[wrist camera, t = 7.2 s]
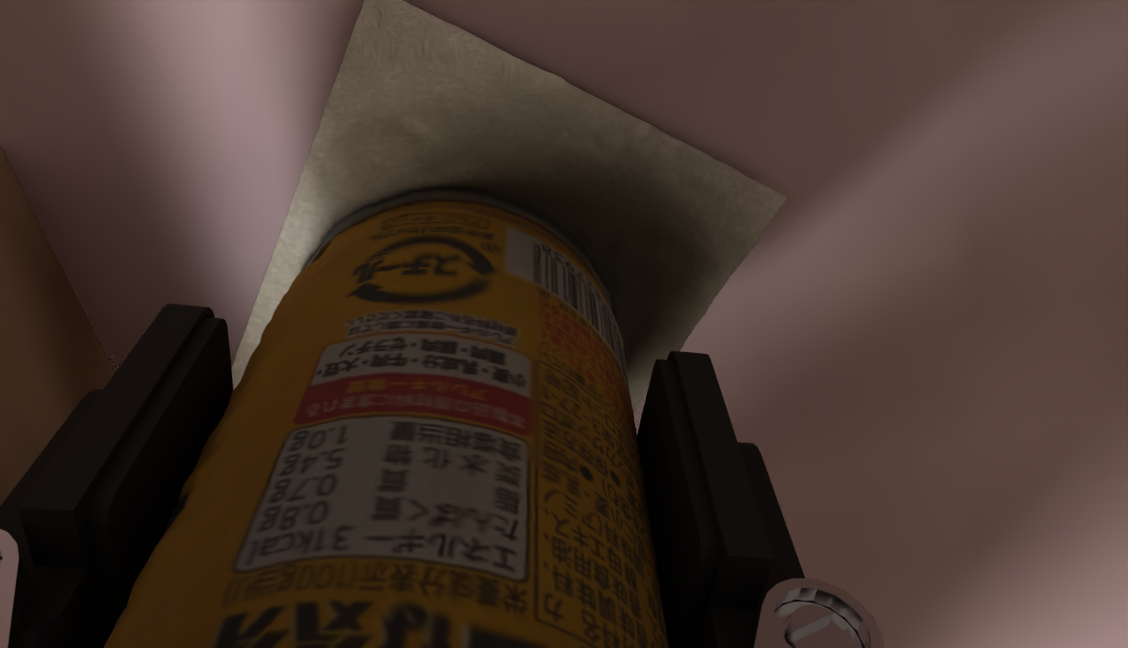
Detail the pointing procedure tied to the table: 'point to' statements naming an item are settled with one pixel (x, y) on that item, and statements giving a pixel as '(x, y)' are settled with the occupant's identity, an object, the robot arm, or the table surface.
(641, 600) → the condiment
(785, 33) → the table surface
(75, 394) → the beige square block
